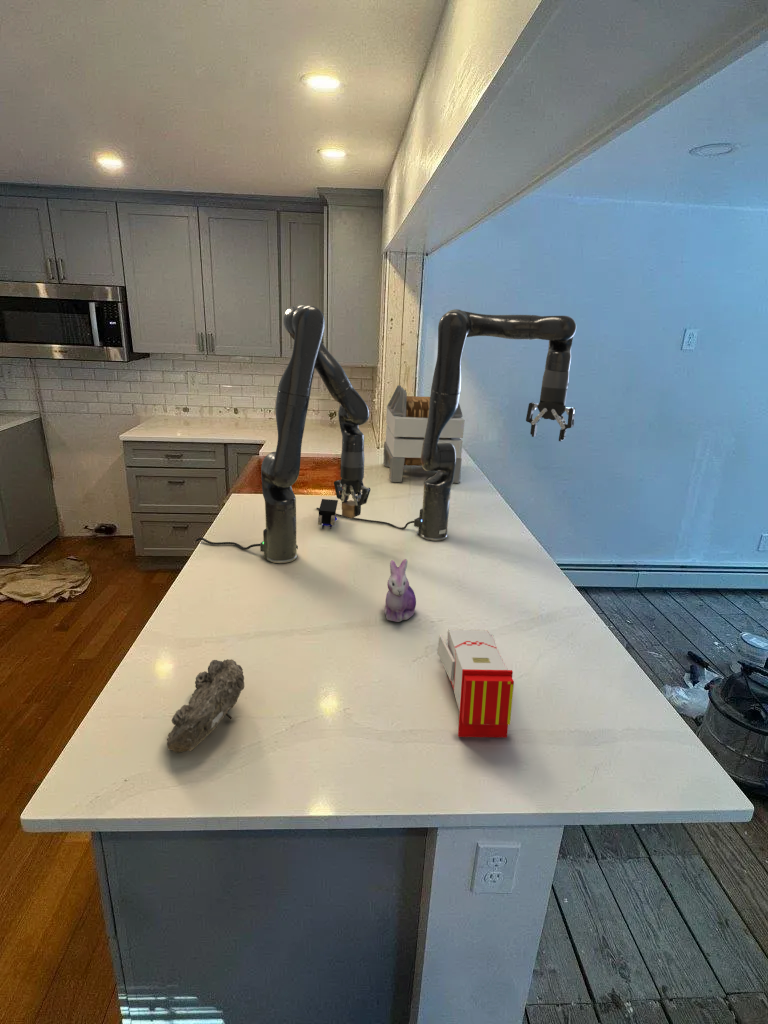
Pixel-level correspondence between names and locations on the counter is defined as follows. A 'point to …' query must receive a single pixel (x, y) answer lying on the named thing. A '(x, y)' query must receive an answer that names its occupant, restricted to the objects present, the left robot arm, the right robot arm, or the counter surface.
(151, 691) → the counter surface
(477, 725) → the toy
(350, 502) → the block
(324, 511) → the figurine character
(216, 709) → the fossil
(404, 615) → the figurine
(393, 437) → the grey slatted planter box
